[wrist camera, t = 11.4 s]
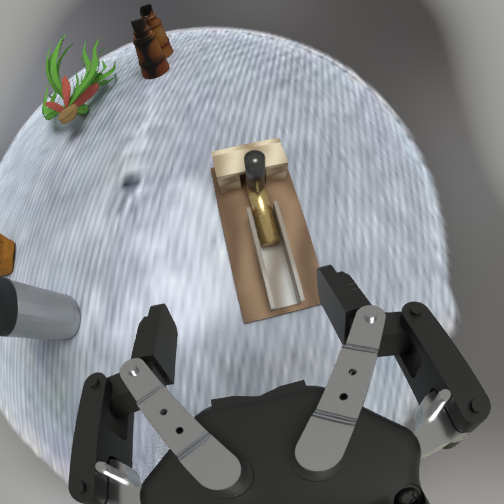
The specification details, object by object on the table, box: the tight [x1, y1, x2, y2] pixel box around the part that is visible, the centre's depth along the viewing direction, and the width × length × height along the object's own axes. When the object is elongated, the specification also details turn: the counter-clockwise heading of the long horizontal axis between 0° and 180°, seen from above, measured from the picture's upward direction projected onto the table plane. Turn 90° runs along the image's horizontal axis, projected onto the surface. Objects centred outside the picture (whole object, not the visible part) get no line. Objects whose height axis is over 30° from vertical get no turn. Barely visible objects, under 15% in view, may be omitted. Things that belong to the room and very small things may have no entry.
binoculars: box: [131, 4, 173, 79], centre depth 54 cm, size 18×8×20 cm, turn 5°
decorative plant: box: [42, 36, 116, 124], centre depth 50 cm, size 26×25×30 cm
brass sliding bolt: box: [243, 150, 281, 247], centre depth 41 cm, size 3×16×11 cm, turn 13°
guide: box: [211, 138, 321, 323], centre depth 44 cm, size 14×29×7 cm, turn 13°
